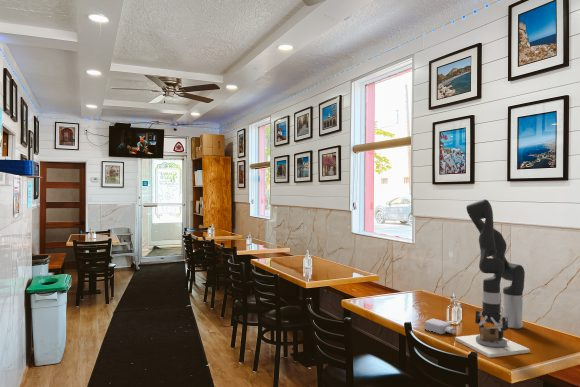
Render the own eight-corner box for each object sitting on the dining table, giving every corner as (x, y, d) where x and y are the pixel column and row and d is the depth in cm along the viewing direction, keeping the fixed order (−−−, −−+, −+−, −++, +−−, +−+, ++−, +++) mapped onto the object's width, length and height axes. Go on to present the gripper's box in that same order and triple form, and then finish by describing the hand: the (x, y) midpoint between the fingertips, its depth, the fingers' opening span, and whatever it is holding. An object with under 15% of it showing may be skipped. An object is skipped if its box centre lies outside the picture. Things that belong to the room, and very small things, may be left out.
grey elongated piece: (451, 338, 203) (424, 330, 215) (461, 334, 209) (434, 326, 221) (451, 328, 203) (424, 321, 215) (461, 324, 209) (434, 317, 221)
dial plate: (455, 340, 200) (455, 336, 200) (492, 336, 206) (492, 332, 206) (489, 357, 179) (489, 353, 179) (529, 352, 185) (529, 348, 185)
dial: (487, 348, 185) (488, 333, 185) (469, 338, 198) (469, 324, 198) (513, 346, 187) (513, 331, 187) (494, 336, 200) (494, 322, 200)
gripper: (472, 299, 196) (472, 333, 196) (502, 305, 184) (502, 342, 184) (480, 296, 200) (480, 330, 200) (511, 303, 189) (510, 338, 189)
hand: (491, 336), depth 192 cm, fingers open, 8 cm apart
